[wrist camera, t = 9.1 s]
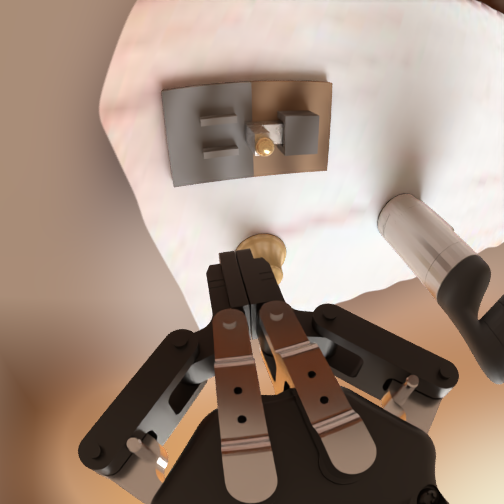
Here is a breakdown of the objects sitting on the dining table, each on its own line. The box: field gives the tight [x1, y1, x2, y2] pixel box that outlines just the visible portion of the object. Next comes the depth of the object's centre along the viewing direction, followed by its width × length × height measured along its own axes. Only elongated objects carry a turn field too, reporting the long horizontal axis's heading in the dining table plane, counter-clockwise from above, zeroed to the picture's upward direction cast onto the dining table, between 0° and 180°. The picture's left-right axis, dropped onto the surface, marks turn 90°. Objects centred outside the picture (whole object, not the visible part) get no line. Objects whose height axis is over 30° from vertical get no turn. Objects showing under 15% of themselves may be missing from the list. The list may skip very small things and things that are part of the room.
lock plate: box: [161, 81, 332, 187], centre depth 33 cm, size 20×12×5 cm, turn 91°
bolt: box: [245, 120, 284, 156], centre depth 31 cm, size 8×2×7 cm, turn 91°
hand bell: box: [236, 234, 286, 284], centre depth 41 cm, size 8×8×16 cm
